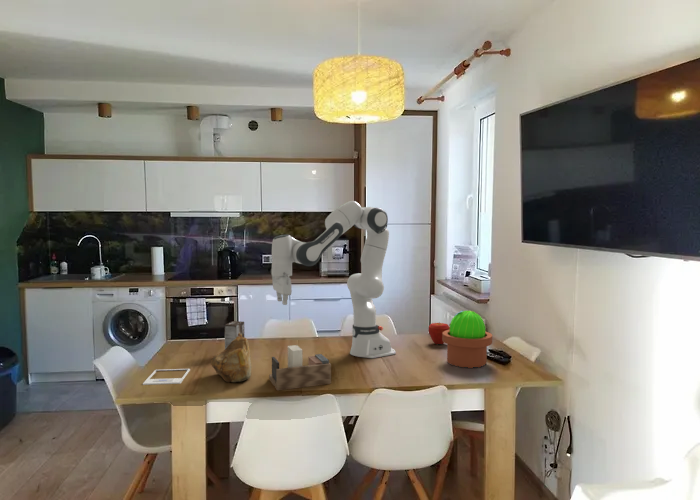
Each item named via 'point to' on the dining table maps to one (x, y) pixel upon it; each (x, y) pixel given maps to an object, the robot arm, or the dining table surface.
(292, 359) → the white rectangular block
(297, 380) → the shelf
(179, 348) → the dining table surface
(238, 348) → the rough brown rock
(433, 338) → the apple
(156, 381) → the photo frame
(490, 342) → the potted cactus
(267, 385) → the dining table surface
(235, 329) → the coffee box
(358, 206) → the robot arm
